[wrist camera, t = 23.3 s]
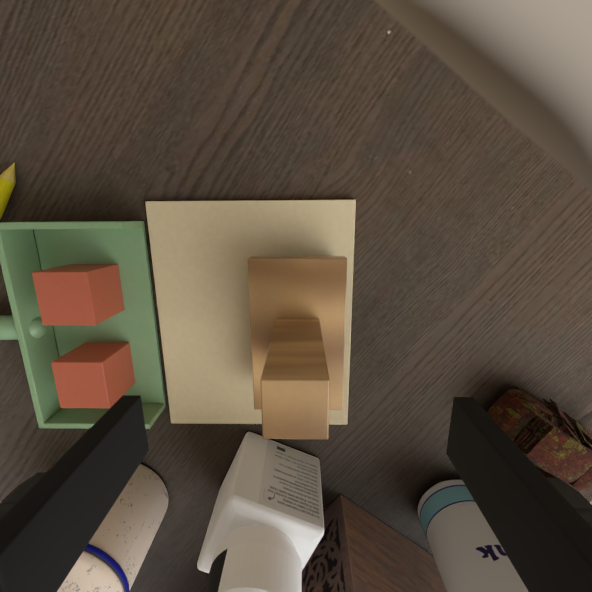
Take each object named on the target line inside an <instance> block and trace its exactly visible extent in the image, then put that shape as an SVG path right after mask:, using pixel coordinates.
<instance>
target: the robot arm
mask: <svg viewBox="0 0 592 592" xmlns="http://www.w3.org/2000/svg"><path fill="white" fill-rule="evenodd" d="M148 451H149V448H148V442H147V435H146V428H145V421H144V415H143V408H142V401H141V395H123V396H122V397H121V398H120V399H119V400H118V401H117V402H116V403H115V404H114V405H113V406H112V407H111V408H110V409H109V410H108V411H107V412H106V413H105V414H104V415H103V416H102V417H101V418H100V419H99V420H98V421H97V422H96V423H95V424H94V425H93V426H92V427H91V428H90V429H89V430H88V431H87V432H86V433H85V434H84V435H83V436H82V437H81V438H80V439H79V440H78V441H77V442H76V443H75V444H74V445H73V446H72V447H71V448H70V449H69V450H68V451H67V452H66V453H65V454H64V455H63V456H62V457H61V459H60V460H59V461H58V462H57V463H56V464H55V465H54V466H53V467H52V468H51V469H50V470H49V471H48V472H47V473H37V474H35V475H34V476H32V477H31V478H29V479H28V480H26V481H25V482H23V483H22V484H20V485H19V486H18V487H17V488H15V489H14V490H13V491H12V492H11V493H10V494H9V495H8V496H7V497H6V498H5V499H4V500H3V502H2V504H0V592H57V591H58V589H59V588H60V586H61V585H62V583H63V582H64V580H65V579H66V577H67V576H68V574H69V572H70V571H71V569H72V568H73V566H74V565H75V563H76V562H77V560H78V559H79V557H80V556H81V554H82V552H83V551H84V549H85V548H86V546H87V545H88V543H89V542H90V540H91V539H92V537H93V535H94V534H95V532H96V531H97V529H98V528H99V526H100V525H101V523H102V522H103V520H104V519H105V517H106V515H107V514H108V512H109V511H110V509H111V508H112V506H113V505H114V503H115V502H116V500H117V499H118V497H119V495H120V494H121V492H122V491H123V489H124V488H125V486H126V485H127V483H128V482H129V480H130V478H131V477H132V475H133V474H134V472H135V471H136V469H137V468H138V466H139V465H140V463H141V462H142V460H143V458H144V457H145V455H146V454H147V452H148ZM446 453H447V455H448V457H449V459H450V460H451V462H452V464H453V465H454V467H455V469H456V470H457V472H458V474H459V475H460V477H461V479H462V480H463V482H464V484H465V485H466V487H467V489H468V491H469V492H470V494H471V496H472V497H473V499H474V501H475V502H476V504H477V506H478V507H479V509H480V511H481V512H482V514H483V516H484V517H485V519H486V521H487V523H488V524H489V526H490V528H491V529H492V531H493V533H494V534H495V536H496V538H497V539H498V541H499V543H500V544H501V546H502V548H503V549H504V551H505V553H506V555H507V556H508V558H509V560H510V561H511V563H512V565H513V566H514V568H515V570H516V571H517V573H518V575H519V576H520V578H521V580H522V581H523V583H524V585H525V587H526V588H527V590H528V592H592V505H591V504H590V503H589V502H588V501H587V500H586V499H585V498H584V497H583V496H582V495H581V494H580V493H579V492H578V491H577V490H575V489H574V488H572V487H571V486H570V485H568V484H567V483H565V482H564V481H562V480H561V479H559V478H546V477H545V476H544V475H543V474H542V473H541V472H540V470H539V469H538V468H537V467H536V466H535V465H534V464H533V463H532V462H531V461H530V460H529V458H528V457H527V456H526V455H525V454H524V453H523V452H522V451H521V450H520V449H519V448H518V446H517V445H516V444H515V443H514V442H513V441H512V440H511V439H510V438H509V437H508V436H507V434H506V433H505V432H504V431H503V430H502V429H501V428H500V427H499V426H498V425H497V423H496V422H495V421H494V420H493V419H492V418H491V417H490V416H489V415H488V414H487V413H486V411H485V410H484V409H483V408H482V407H481V406H480V405H479V404H478V403H477V402H476V401H475V399H474V398H473V397H454V400H453V408H452V415H451V423H450V430H449V437H448V445H447V452H446Z"/></svg>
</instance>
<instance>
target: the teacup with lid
mask: <svg viewBox="0 0 592 592" xmlns="http://www.w3.org/2000/svg"><path fill="white" fill-rule="evenodd" d="M167 507H168V492H167V489H166V487H165V485H164V483H163V481H162V480H161V478H160V477H159V476H158V475H157V474H156V473H155V472H154V471H152V470H151V469H149V468H148V467H146V466H144V465H142V464H140V465H139V466H138V468H137V469H136V471H135V472H134V474H133V475H132V477H131V478H130V480H129V482H128V483H127V485H126V486H125V488H124V489H123V491H122V492H121V494H120V495H119V497H118V499H117V500H116V502H115V503H114V505H113V506H112V508H111V509H110V511H109V512H108V514H107V515H106V517H105V519H104V520H103V522H102V523H101V525H100V526H99V528H98V529H97V531H96V532H95V534H94V535H93V537H92V539H91V540H90V542H89V543H88V545H87V546H86V548H85V549H84V551H83V552H82V554H81V556H80V557H79V559H78V560H77V562H76V563H75V565H74V566H73V568H72V569H71V571H70V572H69V574H68V576H67V577H66V579H65V580H64V582H63V583H62V585H61V586H60V588H59V589H58V591H57V592H129V591H130V589H131V587H132V585H133V583H134V580H135V578H136V576H137V574H138V572H139V570H140V567H141V565H142V563H143V561H144V559H145V556H146V554H147V552H148V550H149V548H150V546H151V543H152V541H153V539H154V537H155V535H156V533H157V530H158V528H159V526H160V524H161V522H162V520H163V517H164V515H165V513H166V511H167Z"/></svg>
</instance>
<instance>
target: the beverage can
mask: <svg viewBox="0 0 592 592" xmlns="http://www.w3.org/2000/svg"><path fill="white" fill-rule="evenodd" d="M418 518H419V520H420V523H421V526H422V528H423V531H424V533H425V536H426V538H427V541H428V544H429V546H430V549H431V551H432V554H433V557H434V559H435V562H436V564H437V567H438V570H439V572H440V575H441V577H442V580H443V582H444V585H445V588H446V590H447V592H528V590H527V588H526V587H525V585H524V583H523V581H522V580H521V578H520V576H519V575H518V573H517V571H516V570H515V568H514V566H513V565H512V563H511V561H510V560H509V558H508V556H507V555H506V553H505V551H504V549H503V548H502V546H501V544H500V543H499V541H498V539H497V538H496V536H495V534H494V533H493V531H492V529H491V528H490V526H489V524H488V523H487V521H486V519H485V517H484V516H483V514H482V512H481V511H480V509H479V507H478V506H477V504H476V502H475V501H474V499H473V497H472V496H471V494H470V492H469V491H468V489H467V487H466V485H465V484H464V482H463V480H446V481H442V482H439V483H437V484H435V485H434V486H432V487H431V488H430V489H429V490H427V491H426V492H425V494H424V495H423V496H422V498H421V499H420V502H419V504H418Z"/></svg>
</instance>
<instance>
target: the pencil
mask: <svg viewBox="0 0 592 592" xmlns="http://www.w3.org/2000/svg"><path fill="white" fill-rule="evenodd" d="M15 183H16V178H15V163H13V164H12V165H11V166H10V167H9V168H8V169H7V170H5V171H4V172H3V173H2V174H1V175H0V221H1V218H2V216H3V213H4V211H5V208H6V206H7V203H8V201H9V198H10V196H11V193H12V191H13V188H14V186H15Z"/></svg>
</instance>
